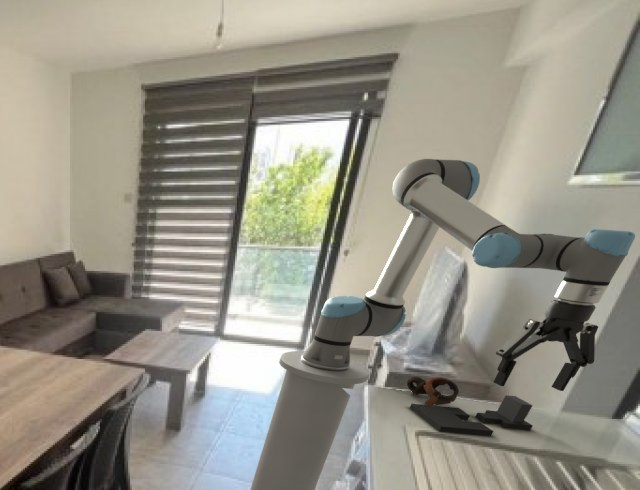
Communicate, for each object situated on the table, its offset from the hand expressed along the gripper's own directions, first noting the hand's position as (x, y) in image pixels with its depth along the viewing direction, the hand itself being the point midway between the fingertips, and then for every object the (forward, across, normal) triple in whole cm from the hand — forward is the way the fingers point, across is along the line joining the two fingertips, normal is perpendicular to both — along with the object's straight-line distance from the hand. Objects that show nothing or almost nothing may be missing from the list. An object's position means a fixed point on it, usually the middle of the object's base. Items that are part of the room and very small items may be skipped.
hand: (527, 386), depth 121 cm
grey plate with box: (+10, -2, 0) cm, 10 cm away
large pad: (+10, -16, -3) cm, 19 cm away
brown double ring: (+10, -14, +11) cm, 21 cm away
